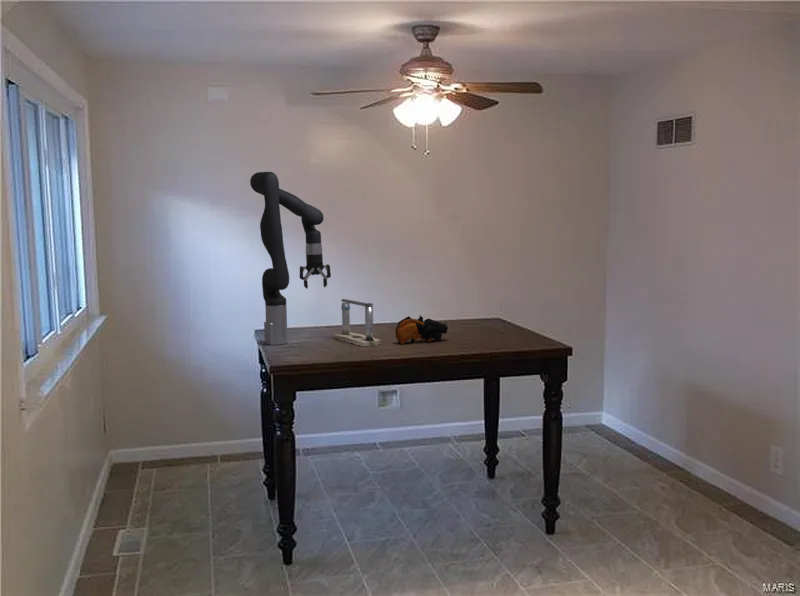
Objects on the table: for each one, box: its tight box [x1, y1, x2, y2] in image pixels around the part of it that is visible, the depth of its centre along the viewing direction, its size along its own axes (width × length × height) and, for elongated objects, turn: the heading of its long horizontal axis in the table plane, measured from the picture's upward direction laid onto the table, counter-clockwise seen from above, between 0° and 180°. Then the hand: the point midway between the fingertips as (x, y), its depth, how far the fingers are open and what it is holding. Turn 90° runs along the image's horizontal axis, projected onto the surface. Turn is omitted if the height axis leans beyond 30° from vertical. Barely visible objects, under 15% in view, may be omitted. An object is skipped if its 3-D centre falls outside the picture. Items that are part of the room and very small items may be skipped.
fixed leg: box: [341, 298, 374, 341], centre depth 341 cm, size 3×23×16 cm, turn 36°
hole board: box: [333, 331, 384, 348], centre depth 342 cm, size 10×25×2 cm, turn 36°
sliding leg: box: [341, 302, 351, 334], centre depth 349 cm, size 4×4×14 cm
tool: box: [394, 315, 449, 345], centre depth 340 cm, size 8×23×15 cm, turn 109°
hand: (315, 287), depth 355 cm, fingers open, 8 cm apart
